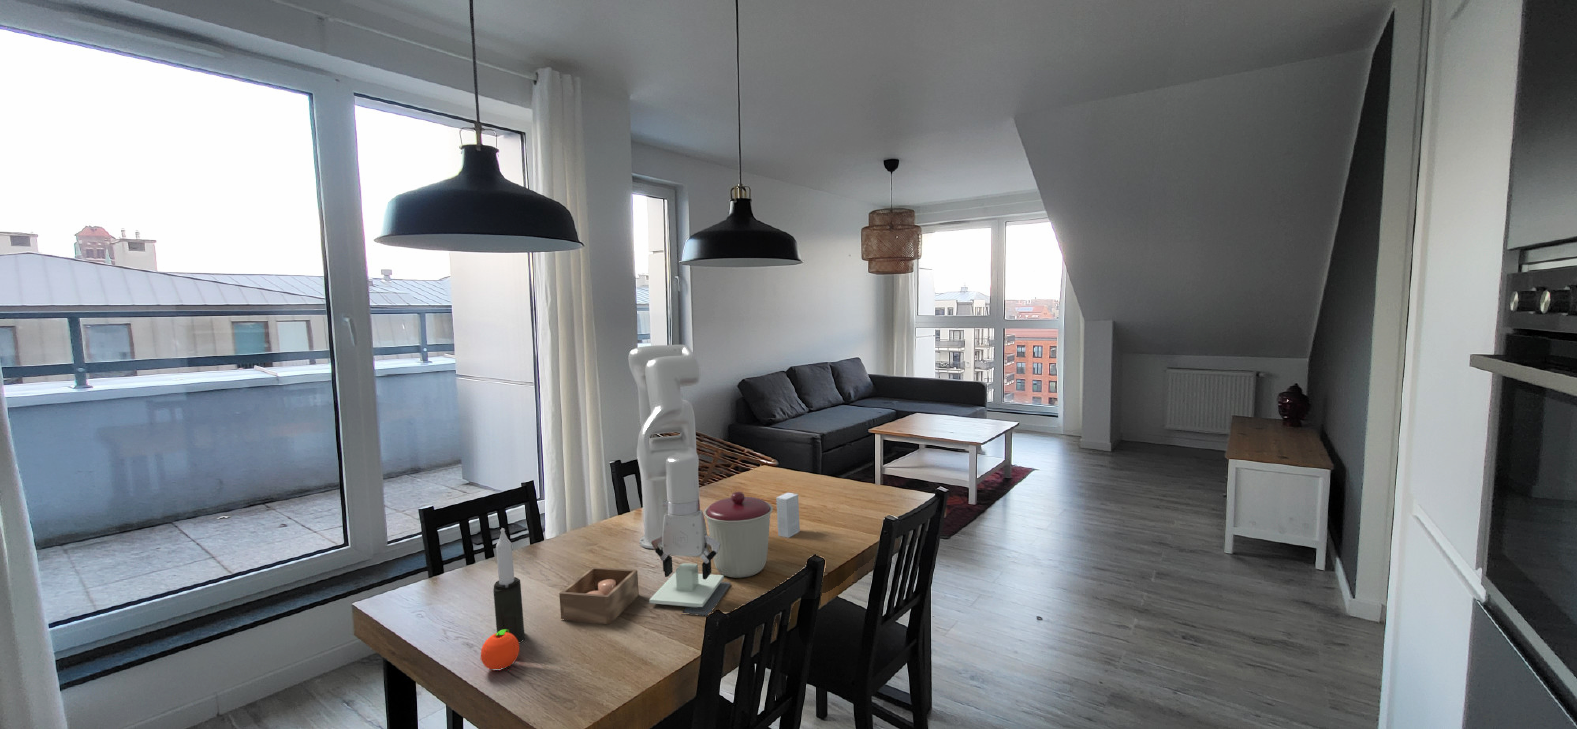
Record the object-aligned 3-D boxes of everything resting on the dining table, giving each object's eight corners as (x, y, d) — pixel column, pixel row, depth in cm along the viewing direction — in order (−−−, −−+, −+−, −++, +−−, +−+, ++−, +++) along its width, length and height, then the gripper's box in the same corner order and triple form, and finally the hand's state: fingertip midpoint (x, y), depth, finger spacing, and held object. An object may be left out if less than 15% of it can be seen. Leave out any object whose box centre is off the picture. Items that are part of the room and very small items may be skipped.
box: (594, 594, 151) (592, 567, 150) (639, 597, 148) (637, 570, 147) (561, 623, 137) (559, 593, 136) (610, 627, 134) (608, 597, 134)
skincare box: (788, 529, 191) (787, 492, 189) (800, 532, 188) (798, 494, 187) (777, 535, 186) (775, 497, 185) (788, 538, 183) (787, 499, 182)
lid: (675, 579, 156) (674, 553, 155) (723, 583, 153) (722, 556, 153) (649, 608, 142) (648, 579, 141) (702, 612, 139) (701, 582, 138)
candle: (497, 651, 126) (488, 534, 124) (498, 639, 131) (489, 526, 129) (524, 645, 128) (515, 530, 126) (524, 634, 133) (515, 522, 131)
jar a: (604, 596, 148) (603, 578, 147) (619, 597, 147) (618, 579, 147) (595, 604, 144) (594, 586, 144) (611, 605, 143) (610, 587, 143)
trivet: (671, 580, 157) (670, 578, 157) (730, 584, 153) (730, 582, 153) (643, 611, 141) (643, 608, 141) (708, 616, 138) (708, 613, 138)
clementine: (493, 655, 125) (490, 622, 124) (528, 653, 125) (525, 620, 125) (475, 679, 117) (472, 644, 116) (512, 677, 117) (509, 641, 117)
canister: (788, 566, 163) (786, 489, 161) (742, 591, 149) (738, 507, 148) (740, 551, 175) (736, 479, 173) (692, 573, 161) (688, 495, 159)
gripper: (643, 510, 144) (647, 580, 145) (713, 513, 140) (716, 585, 141) (656, 500, 151) (660, 567, 152) (723, 502, 147) (726, 571, 149)
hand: (687, 575), depth 147 cm, fingers open, 9 cm apart
